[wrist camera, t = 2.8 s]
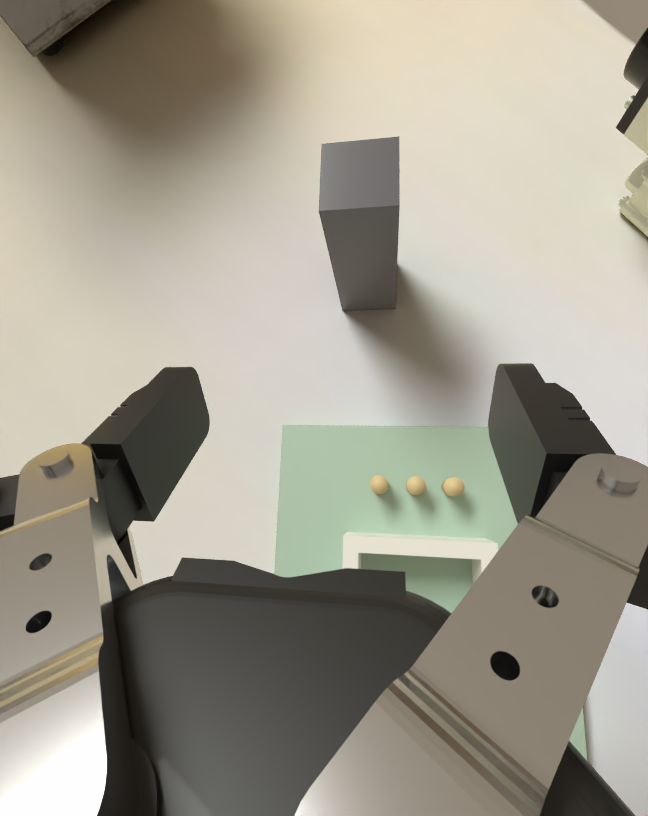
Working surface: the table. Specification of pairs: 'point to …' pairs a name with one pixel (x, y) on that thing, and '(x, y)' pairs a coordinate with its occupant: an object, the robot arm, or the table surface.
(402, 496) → the board
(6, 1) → the vintage electronic device
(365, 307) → the grey rectangular block
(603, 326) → the table surface
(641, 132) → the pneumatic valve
